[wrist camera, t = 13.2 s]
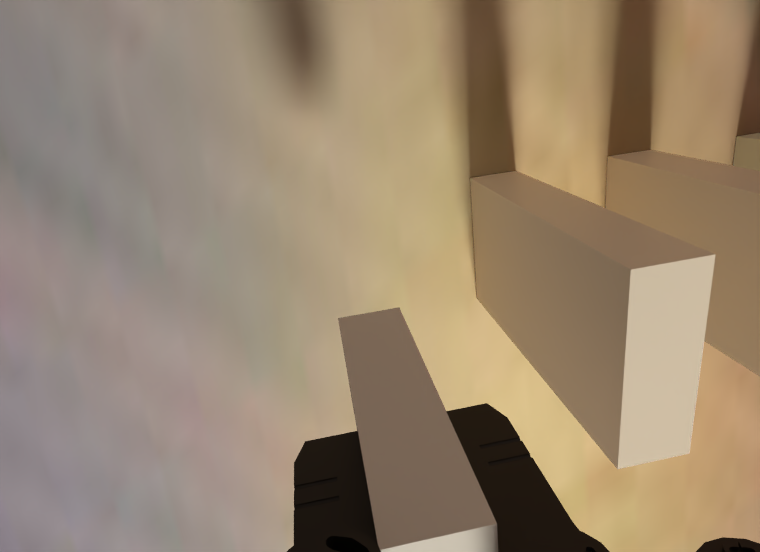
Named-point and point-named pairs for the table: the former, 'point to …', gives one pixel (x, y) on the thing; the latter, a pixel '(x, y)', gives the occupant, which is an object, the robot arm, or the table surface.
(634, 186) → the domino
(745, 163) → the domino
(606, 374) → the domino
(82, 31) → the table surface
